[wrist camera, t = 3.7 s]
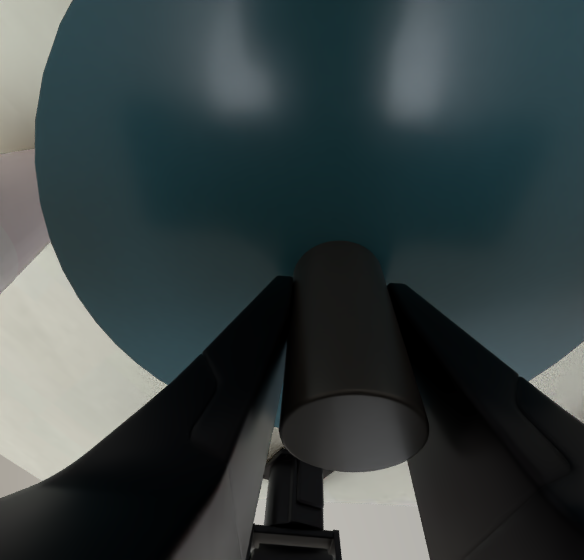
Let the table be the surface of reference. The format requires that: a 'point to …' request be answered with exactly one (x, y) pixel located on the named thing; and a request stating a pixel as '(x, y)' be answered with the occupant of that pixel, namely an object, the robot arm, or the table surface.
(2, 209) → the smoothie
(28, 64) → the table surface
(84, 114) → the pot lid
